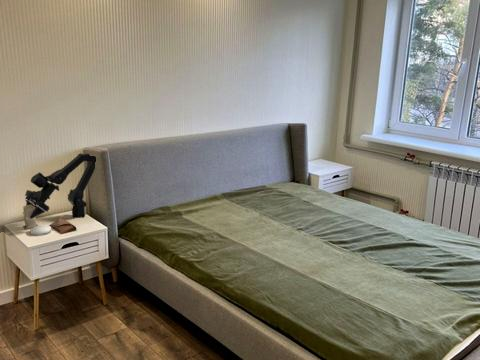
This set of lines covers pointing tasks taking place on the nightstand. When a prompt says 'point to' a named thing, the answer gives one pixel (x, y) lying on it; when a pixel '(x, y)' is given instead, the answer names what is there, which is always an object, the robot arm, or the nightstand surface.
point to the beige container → (28, 221)
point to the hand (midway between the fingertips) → (27, 216)
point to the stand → (40, 230)
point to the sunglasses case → (63, 226)
